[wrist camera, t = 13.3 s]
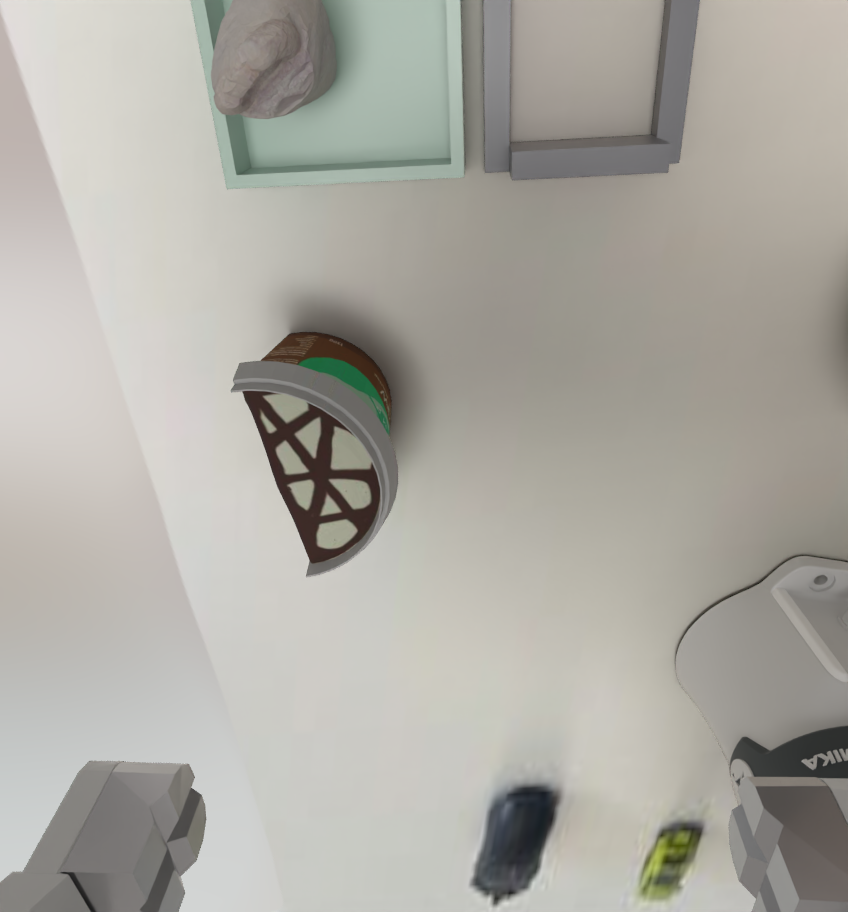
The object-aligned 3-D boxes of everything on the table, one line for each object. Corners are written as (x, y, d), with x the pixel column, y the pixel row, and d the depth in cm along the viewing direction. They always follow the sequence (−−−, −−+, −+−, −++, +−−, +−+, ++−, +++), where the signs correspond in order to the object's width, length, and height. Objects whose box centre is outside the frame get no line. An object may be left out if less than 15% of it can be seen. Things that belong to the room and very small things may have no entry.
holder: (706, -119, 28) (739, -145, 25) (672, 159, 34) (695, 171, 30) (482, -100, 29) (483, -122, 25) (484, 169, 34) (485, 181, 31)
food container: (430, 470, 44) (419, 570, 35) (341, 484, 45) (309, 585, 36) (382, 288, 38) (355, 355, 29) (281, 309, 39) (226, 380, 30)
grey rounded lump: (291, -38, 30) (217, -77, 21) (364, -4, 30) (321, -29, 22) (259, 99, 33) (183, 113, 24) (327, 128, 33) (276, 151, 25)
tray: (459, -95, 29) (457, -111, 26) (465, 168, 34) (464, 177, 32) (200, -74, 30) (173, -87, 27) (245, 179, 35) (226, 188, 33)
